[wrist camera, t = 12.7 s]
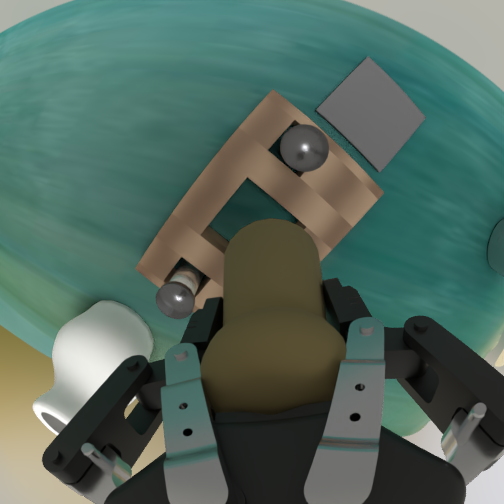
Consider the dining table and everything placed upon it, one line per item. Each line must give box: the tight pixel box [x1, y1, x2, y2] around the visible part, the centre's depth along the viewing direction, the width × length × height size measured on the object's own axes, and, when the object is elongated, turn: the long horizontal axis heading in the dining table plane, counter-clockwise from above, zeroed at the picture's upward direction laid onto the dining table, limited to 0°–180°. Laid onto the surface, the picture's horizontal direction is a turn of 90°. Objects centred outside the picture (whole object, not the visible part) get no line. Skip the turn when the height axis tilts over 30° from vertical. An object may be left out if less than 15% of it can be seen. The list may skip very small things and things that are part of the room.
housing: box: [135, 90, 384, 313], centre depth 29 cm, size 15×24×4 cm, turn 140°
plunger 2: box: [156, 259, 204, 319], centre depth 29 cm, size 4×4×8 cm
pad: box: [315, 56, 426, 172], centre depth 25 cm, size 10×10×1 cm
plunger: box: [280, 124, 329, 172], centre depth 23 cm, size 4×4×8 cm
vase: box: [33, 300, 154, 435], centre depth 29 cm, size 14×14×20 cm
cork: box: [200, 218, 347, 415], centre depth 12 cm, size 6×6×11 cm
